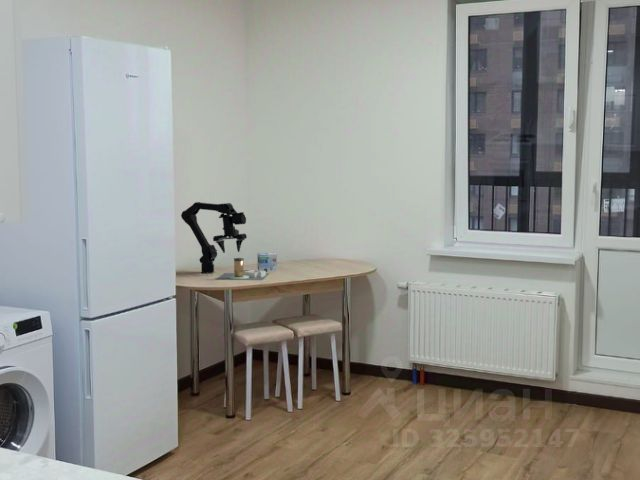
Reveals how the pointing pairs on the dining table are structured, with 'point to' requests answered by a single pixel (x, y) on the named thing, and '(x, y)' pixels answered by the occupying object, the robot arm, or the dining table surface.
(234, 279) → the sage pad
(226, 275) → the charcoal mat
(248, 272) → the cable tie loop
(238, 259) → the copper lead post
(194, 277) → the dining table surface
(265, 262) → the light bulb box
